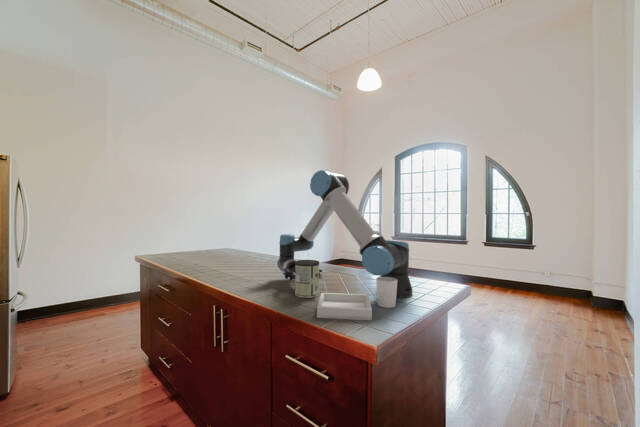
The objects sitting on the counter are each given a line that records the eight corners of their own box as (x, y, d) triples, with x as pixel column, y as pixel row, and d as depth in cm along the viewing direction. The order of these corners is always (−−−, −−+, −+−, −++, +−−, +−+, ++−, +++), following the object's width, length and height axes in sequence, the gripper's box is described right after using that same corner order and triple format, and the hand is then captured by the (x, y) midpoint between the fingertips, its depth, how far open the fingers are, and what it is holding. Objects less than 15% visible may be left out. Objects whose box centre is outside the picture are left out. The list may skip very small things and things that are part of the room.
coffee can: (297, 290, 129) (297, 259, 129) (320, 291, 127) (320, 260, 128) (292, 297, 118) (293, 263, 118) (317, 298, 117) (318, 263, 117)
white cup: (397, 303, 112) (398, 277, 113) (396, 309, 105) (396, 282, 105) (377, 301, 115) (377, 276, 115) (374, 307, 108) (374, 280, 108)
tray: (367, 303, 112) (367, 294, 112) (371, 320, 94) (372, 309, 94) (321, 301, 113) (321, 292, 113) (316, 317, 95) (317, 307, 95)
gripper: (314, 274, 144) (335, 284, 124) (270, 278, 134) (284, 289, 114) (314, 259, 144) (335, 266, 124) (270, 261, 134) (285, 270, 114)
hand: (311, 277), depth 119 cm, fingers closed on coffee can, 10 cm apart
